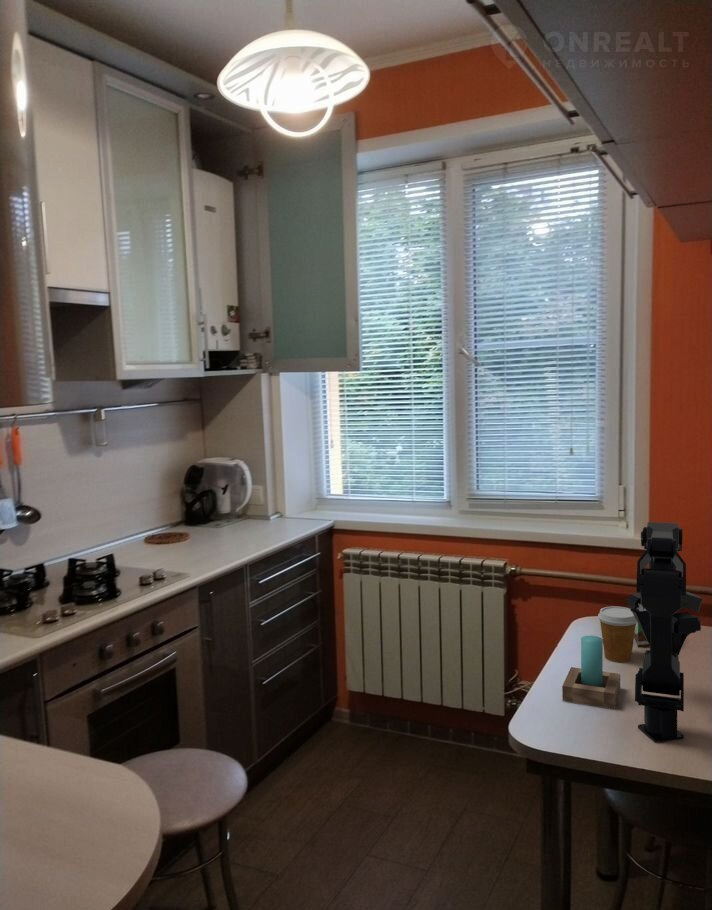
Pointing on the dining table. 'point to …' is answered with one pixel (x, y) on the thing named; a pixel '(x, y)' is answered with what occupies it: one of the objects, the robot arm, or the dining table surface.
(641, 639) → the food container
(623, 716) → the dining table surface
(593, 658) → the peg
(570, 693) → the block
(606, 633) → the disposable coffee cup
